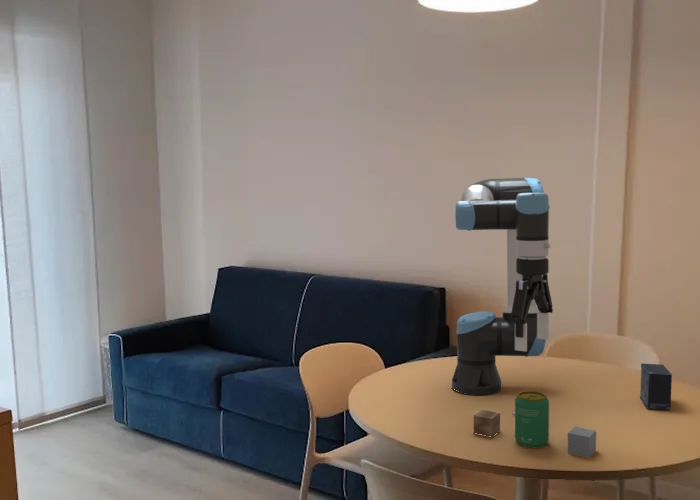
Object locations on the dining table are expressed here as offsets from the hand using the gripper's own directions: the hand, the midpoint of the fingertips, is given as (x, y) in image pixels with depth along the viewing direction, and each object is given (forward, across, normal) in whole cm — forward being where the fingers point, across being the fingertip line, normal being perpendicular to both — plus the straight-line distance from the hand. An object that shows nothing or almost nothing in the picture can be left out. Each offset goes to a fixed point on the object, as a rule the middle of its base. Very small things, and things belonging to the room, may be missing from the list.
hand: (532, 344), depth 168 cm
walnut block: (+25, 0, +12) cm, 28 cm away
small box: (+25, +45, -18) cm, 54 cm away
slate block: (+25, +1, -12) cm, 27 cm away
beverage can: (+25, 0, 0) cm, 25 cm away
